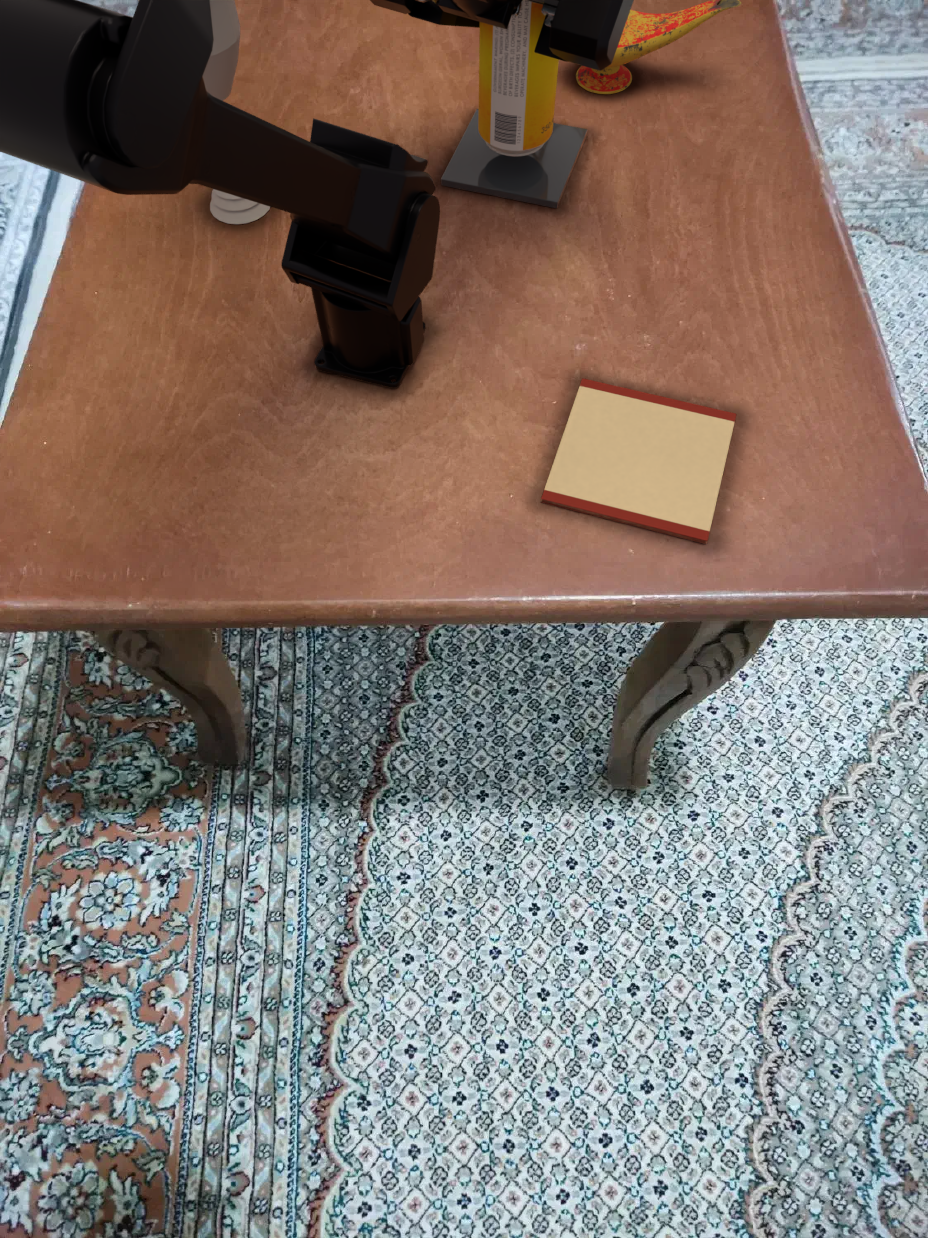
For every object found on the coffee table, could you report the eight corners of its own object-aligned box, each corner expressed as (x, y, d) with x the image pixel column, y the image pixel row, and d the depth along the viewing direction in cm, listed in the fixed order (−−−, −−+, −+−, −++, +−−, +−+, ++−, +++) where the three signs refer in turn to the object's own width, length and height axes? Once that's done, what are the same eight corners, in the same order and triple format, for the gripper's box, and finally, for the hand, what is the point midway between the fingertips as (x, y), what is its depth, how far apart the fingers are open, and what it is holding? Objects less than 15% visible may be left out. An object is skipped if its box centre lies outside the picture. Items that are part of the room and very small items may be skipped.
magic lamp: (723, 105, 78) (759, -35, 68) (520, 96, 79) (527, -43, 69) (719, 60, 81) (753, -80, 72) (524, 52, 82) (532, -87, 72)
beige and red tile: (540, 502, 58) (541, 498, 58) (581, 381, 63) (582, 377, 63) (706, 544, 57) (707, 540, 56) (735, 417, 61) (736, 413, 61)
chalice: (221, 244, 70) (147, -3, 54) (181, 199, 73) (100, -49, 57) (300, 207, 72) (251, -42, 56) (258, 164, 75) (200, -84, 59)
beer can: (556, 119, 74) (575, -93, 61) (546, 164, 71) (564, -49, 58) (485, 111, 75) (489, -101, 61) (472, 155, 72) (473, -57, 59)
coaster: (440, 185, 73) (440, 178, 73) (476, 114, 78) (476, 107, 77) (557, 208, 72) (557, 202, 71) (587, 135, 76) (587, 128, 76)
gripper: (658, -207, 48) (687, -62, 62) (362, -269, 52) (453, -120, 66) (582, 21, 51) (626, 108, 66) (310, -54, 55) (408, 43, 70)
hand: (527, 30), depth 67 cm, fingers closed on beer can, 6 cm apart
